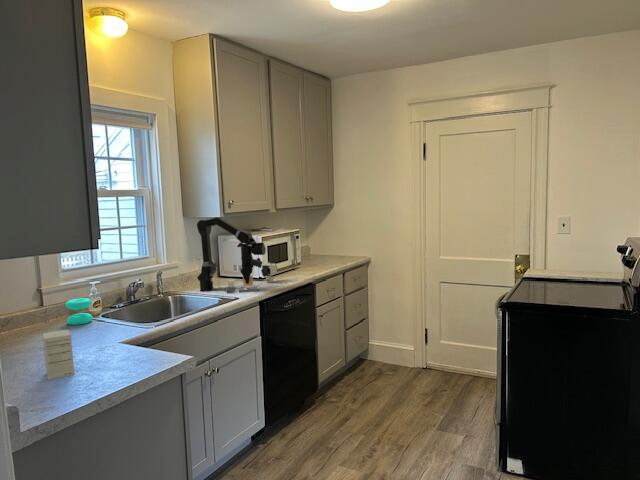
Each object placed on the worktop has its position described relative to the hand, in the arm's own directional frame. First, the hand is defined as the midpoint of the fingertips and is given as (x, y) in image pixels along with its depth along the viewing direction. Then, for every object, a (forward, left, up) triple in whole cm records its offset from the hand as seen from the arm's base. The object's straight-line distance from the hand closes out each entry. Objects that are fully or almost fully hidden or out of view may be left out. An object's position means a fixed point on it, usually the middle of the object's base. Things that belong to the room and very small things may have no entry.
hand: (248, 282), depth 262 cm
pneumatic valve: (+12, +21, -4) cm, 25 cm away
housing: (0, 0, -1) cm, 1 cm away
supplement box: (-51, -114, -4) cm, 125 cm away
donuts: (-70, -50, -4) cm, 86 cm away
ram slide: (-10, +8, -3) cm, 13 cm away
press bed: (0, 0, -4) cm, 4 cm away
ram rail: (-10, +3, -4) cm, 11 cm away
